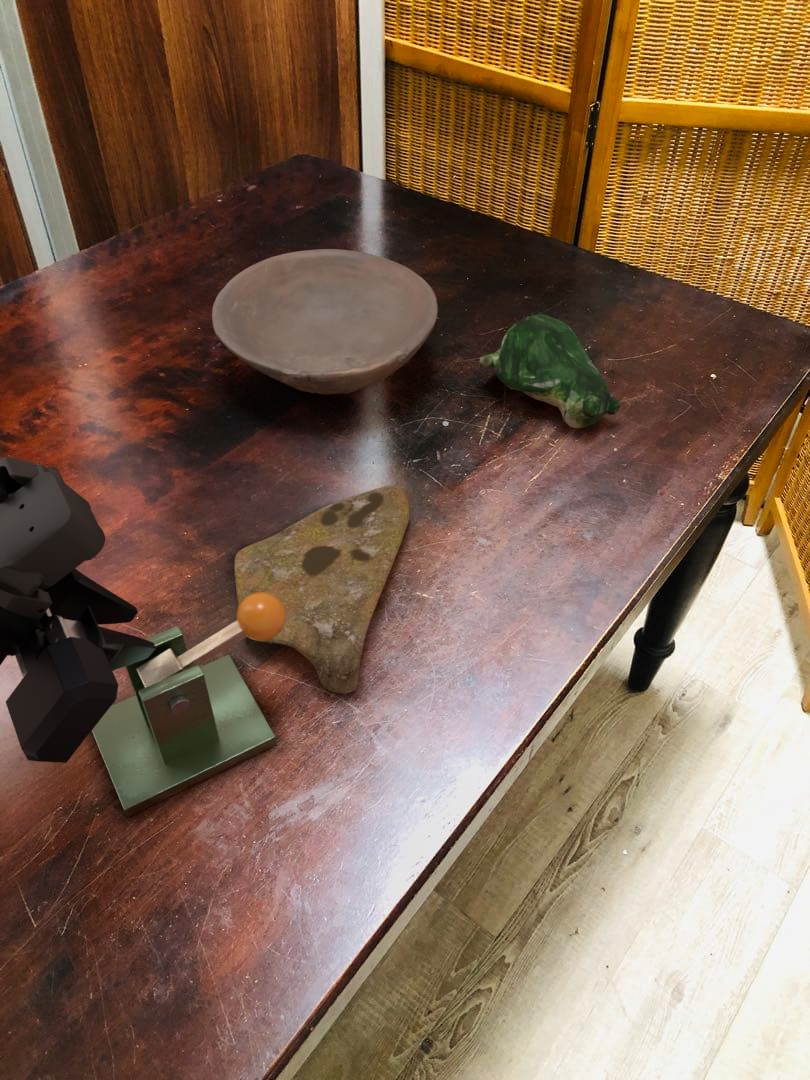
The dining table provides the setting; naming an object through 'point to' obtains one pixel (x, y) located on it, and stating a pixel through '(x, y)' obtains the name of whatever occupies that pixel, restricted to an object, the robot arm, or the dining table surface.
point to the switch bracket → (179, 728)
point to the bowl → (325, 318)
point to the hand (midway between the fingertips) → (142, 632)
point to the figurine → (552, 370)
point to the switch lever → (221, 638)
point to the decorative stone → (329, 578)
